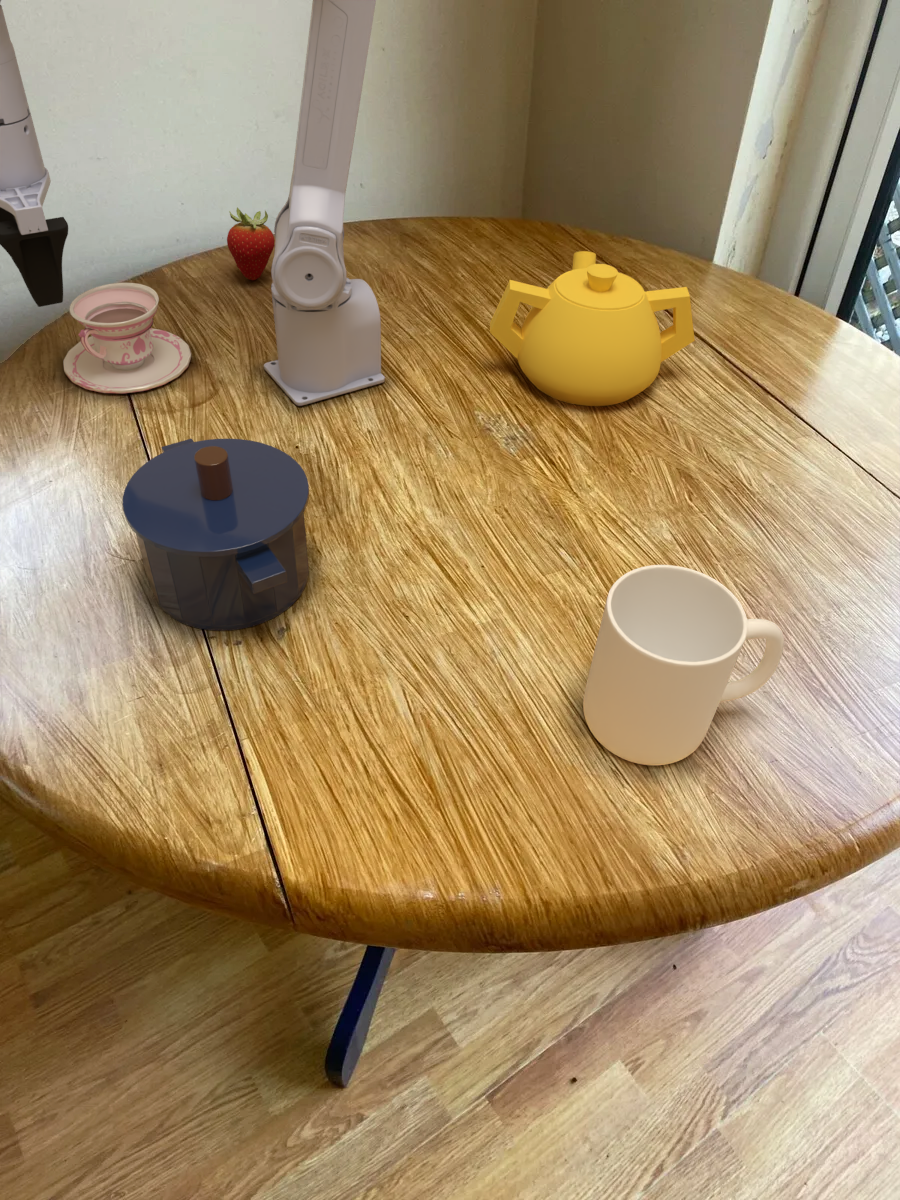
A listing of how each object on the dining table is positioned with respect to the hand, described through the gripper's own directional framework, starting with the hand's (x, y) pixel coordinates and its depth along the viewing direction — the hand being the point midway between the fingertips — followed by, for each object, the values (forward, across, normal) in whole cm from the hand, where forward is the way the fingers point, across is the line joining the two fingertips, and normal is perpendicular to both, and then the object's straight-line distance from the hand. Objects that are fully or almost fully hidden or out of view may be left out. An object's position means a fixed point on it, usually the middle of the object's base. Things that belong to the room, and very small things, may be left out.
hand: (39, 284), depth 79 cm
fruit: (+10, -12, +24) cm, 29 cm away
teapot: (+10, +19, +47) cm, 51 cm away
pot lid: (+2, +32, +4) cm, 33 cm away
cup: (+10, +58, +25) cm, 64 cm away
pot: (+10, +32, +4) cm, 34 cm away
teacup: (+10, -1, +6) cm, 12 cm away
